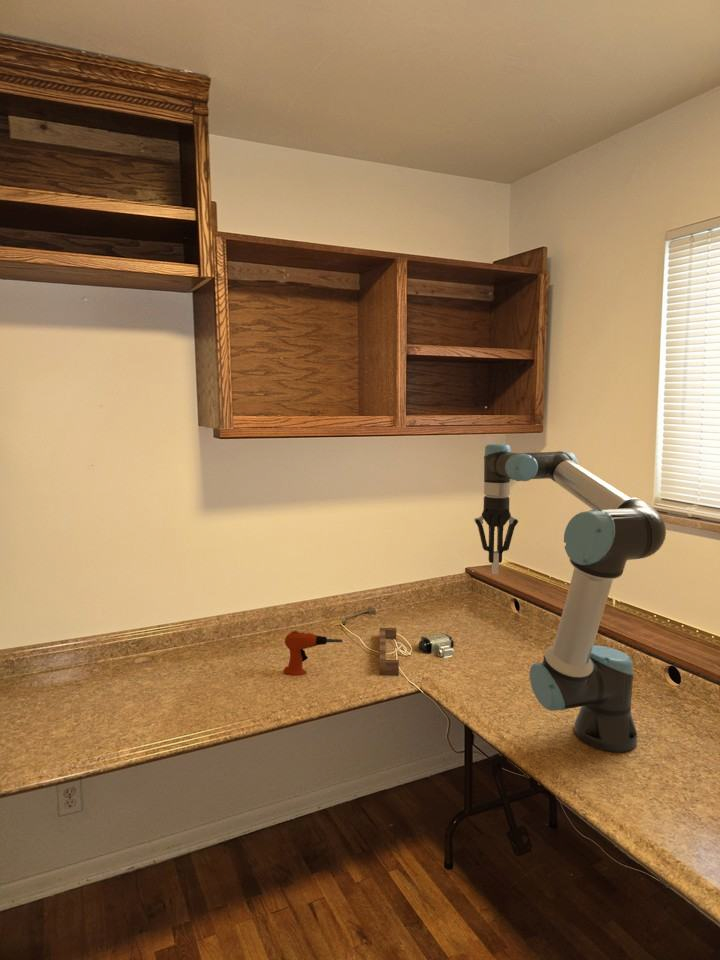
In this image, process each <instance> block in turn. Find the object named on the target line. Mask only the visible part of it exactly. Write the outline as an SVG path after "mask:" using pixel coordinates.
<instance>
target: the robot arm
mask: <svg viewBox="0 0 720 960" xmlns="http://www.w3.org/2000/svg"><path fill="white" fill-rule="evenodd" d="M484 447H485V448H484V456H483V459H484V460H483V461H484V462H483V471H484V472H483V481H484V482H483V495H484V497H483V509H482V512H481V515H480V516H478V517H476V518H474V519H473V521H474V522H475V524H476V525H477V529H478V534H479V539H480V541H481V546H482V549H483V550H484V551H486V552H488V561H489V563H490V564H491V573H492V574H493V575H499V563H500V564H502V562H503V553H504V552H506V551H509V549H510V546H511V543H512V542H511V541H512V538H513V535H514V530H515V528H516V526H517V524H519V520H518V519H517V518H515V517H514V516H512V515H511V512H510V497H509V496H510V494H511V492H510V490H511V489H510V487H511V482H510V481H511V480H513V481H515V482H529V481H531V480H541V479H545V480H547V479H549V480H552V481H553V482H555V483H556V484H557V485H558V486H560V487H562V488H563V489H565V491H567V492H568V493H570V494H571V495H572V496H574V497H575V498H576V499H578V500H579V501H580V502H581V503H584V505H586V506H588V507H589V508H590V510H587V511H582V512H581V511H580V512H578V513H576V514H575V515H574V516H573V517H571V519H570V520H569V521H568V523H567V525H566V527H565V530H564V534H563V543H565V545H564V550H565V553H566V555H567V557H568V559H569V563H570V564H571V565H572V567H573V568H574V569H573V571H572V576H571V579H570V584H569V587H568V590H567V594H566V595H567V596H566V597H565V602H564V607H563V610H562V613H561V616H560V621H559V625H558V627H557V632H556V635H555V639H554V643H553V645H550V646H549V647H547V648H546V650H545V652H544V655H543V659H542V661H541V662H539V661H537V662H535V663H533V664H532V665H531V666H530V667H529V668H530V669H529V683H530V686H531V690H532V692H533V694H534V696H535V698H536V700H537V702H538V703H539V704H540V706H542V707H543V708H544V709H545V710H547V711H552V712H553V711H561V712H562V711H564V710H570V709H574V708H578V707H579V711H578V713H577V716H576V718H575V721H574V734H575V736H576V737H577V738H578V739H579V740H580V741H581V742H582V743H583V744H585V745H587V746H590V748H591V747H592V748H594V749H597V750H601V751H605V752H611V753H623V752H627V751H631V750H633V749H634V748H635V747H636V746H637V745H638V731H637V728H636V725H635V722H634V718H633V715H632V700H633V699H632V697H633V680H634V675H635V674H634V671H633V670H634V663H633V660H632V658H631V657H630V655H628V654H627V653H625V652H623V651H621V650H618V649H616V648H613V647H610V646H605V645H604V646H603V645H598V644H597V645H595V642H596V641H595V640H596V637H597V634H598V631H599V627H600V623H601V620H602V617H603V614H604V611H605V607H606V603H607V601H608V597H609V594H610V591H611V588H612V584H613V581H614V580H615V579H618V578H620V577H621V576H622V575H623V573H624V570H625V566H626V563H627V561H631V560H639V559H640V560H641V559H645V558H648V557H651V556H652V555H654V554H656V553H657V552H658V551H659V550H660V549H661V548H662V546H663V544H664V542H665V540H666V534H667V529H666V527H667V526H666V523H665V521H664V518H663V517H662V516H661V514H660V513H659V512H658V511H657V510H656V509H655V508H654V507H652V506H651V505H650V504H649V503H647V502H646V501H644V500H642V499H641V498H637V497H629V496H628V495H626V494H624V493H623V492H622V491H621V490H619V489H617V488H616V487H614V486H612V485H611V484H610V483H607V482H606V481H604V480H603V479H601V478H600V477H599V476H596V475H595V474H593V473H592V472H590V471H589V470H587V469H585V468H584V467H582V466H581V465H579V461H578V458H576V455H575V454H574V453H573V452H571V451H562V450H559V451H558V450H557V451H543V452H512V450H511V445H509V444H506V443H489V444H487V445H485V446H484ZM484 521H485V523H486V525H488V541H487V539H486V535H485V534H486V533H485V530H484V526H483V524H484ZM507 522H508V523H509V524H508V527H507V530H506V533H505V534H506V535H505V538H503V537H504V526H505V525H506V524H507ZM495 528H497V532H496V533H497V536H496V546H497V547H496V550H495V531H496V530H495Z"/></svg>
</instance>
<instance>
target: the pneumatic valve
mask: <svg viewBox="0 0 720 960" xmlns="http://www.w3.org/2000/svg"><path fill="white" fill-rule="evenodd" d="M454 644H455V641H454V639H453V637H452V636H451V635H448V634H446V633H443V632H442V633H436V632H433V633H432V632H431V633H430V634H429V635H425V636H421V637H420V641H419V642H418V650H419V651H421V652H422V653H423V654H426V653H428V654H429V655H431V654H437V656H438V657H439V658H441V657H442V659H447V658H451V657H453V655H454V654H455V650H454V646H455V645H454Z"/></svg>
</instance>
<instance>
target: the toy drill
mask: <svg viewBox="0 0 720 960" xmlns="http://www.w3.org/2000/svg"><path fill="white" fill-rule="evenodd" d="M327 643H343V639H340V638H337V639H336V638H328V637H326V636H323V635H322V636H321V635H317V634H313V633H310V632H308V633H306V632H299V631H298V630H291V632H290V633H288V634H287V635H286V636H285V639H284V644H285V646H286V647H287V649H288V650H289V661H288V665H287V666H286V667H284V669H283V674H284V675H286V676H291V677H293V676H294V677H300V676H305V675H307V673H308V672H307V670H305V669H304V668H303V662H304V661H306V660H307V659H308V658H309V656H307V655H306V651H305V649H309V648H313V647H316V646H321V645H326V644H327Z"/></svg>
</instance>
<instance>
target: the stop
mask: <svg viewBox="0 0 720 960" xmlns="http://www.w3.org/2000/svg"><path fill="white" fill-rule="evenodd" d="M386 640H397V627H379V676H393V677H396V676H398V677H399V676H400V674H399V671H400V670H399V668H400V666H399V665H400V661H399V659H387V651H386V650H387V648H386V645H387V643H386Z"/></svg>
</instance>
